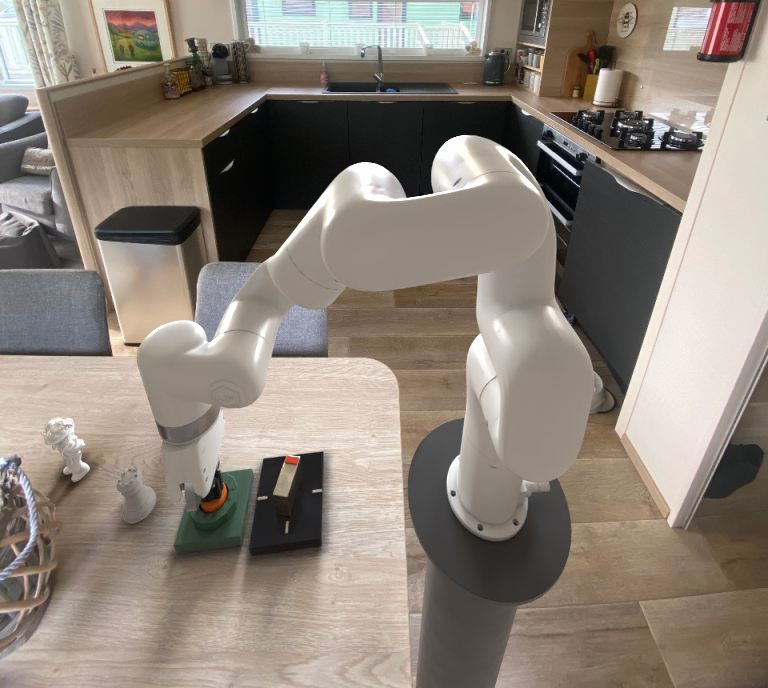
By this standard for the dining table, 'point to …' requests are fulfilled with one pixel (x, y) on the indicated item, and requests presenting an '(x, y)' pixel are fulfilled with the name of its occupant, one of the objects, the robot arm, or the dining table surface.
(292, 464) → the knob
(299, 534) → the panel
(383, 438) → the dining table surface
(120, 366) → the dining table surface
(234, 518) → the button block
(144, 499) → the rook chess piece
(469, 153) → the robot arm
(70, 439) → the hat wearing toy figure
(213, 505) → the button
